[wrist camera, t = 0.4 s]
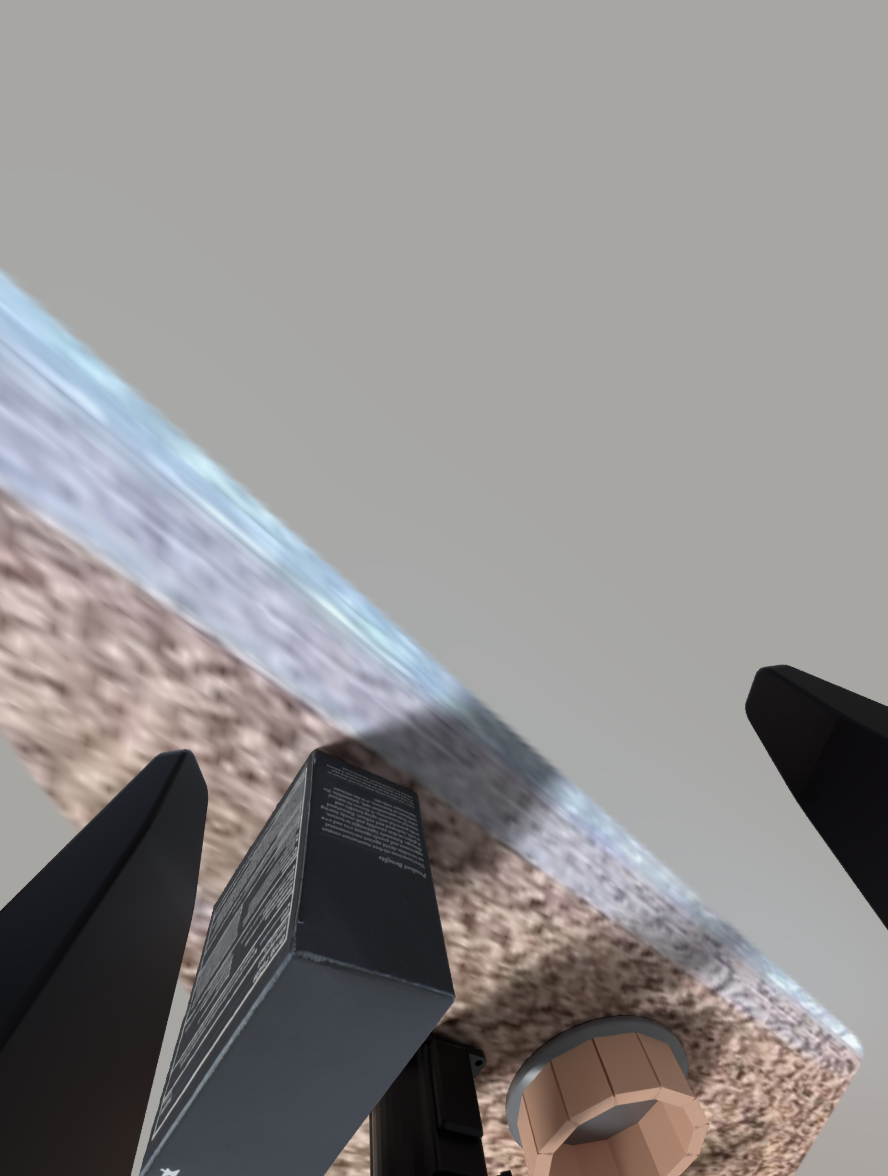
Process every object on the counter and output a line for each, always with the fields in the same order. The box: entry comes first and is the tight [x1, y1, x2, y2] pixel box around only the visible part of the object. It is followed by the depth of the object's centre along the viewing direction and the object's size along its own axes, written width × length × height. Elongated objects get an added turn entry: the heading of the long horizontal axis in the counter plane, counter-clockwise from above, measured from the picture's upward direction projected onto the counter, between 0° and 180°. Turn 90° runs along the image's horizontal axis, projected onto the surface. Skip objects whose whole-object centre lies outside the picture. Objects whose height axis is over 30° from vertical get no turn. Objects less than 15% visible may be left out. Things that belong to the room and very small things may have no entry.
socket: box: [506, 1016, 709, 1176], centre depth 34 cm, size 13×13×4 cm
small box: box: [139, 750, 456, 1176], centre depth 21 cm, size 11×6×10 cm, turn 147°
